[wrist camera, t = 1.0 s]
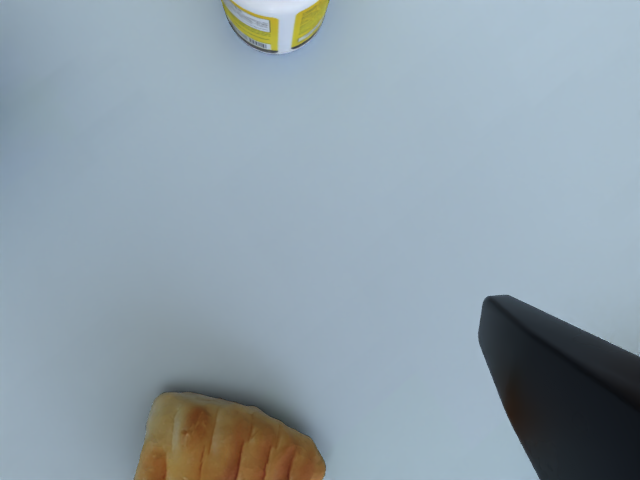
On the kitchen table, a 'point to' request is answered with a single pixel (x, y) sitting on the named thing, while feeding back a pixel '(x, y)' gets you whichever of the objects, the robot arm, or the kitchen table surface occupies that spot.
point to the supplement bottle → (275, 22)
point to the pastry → (222, 443)
